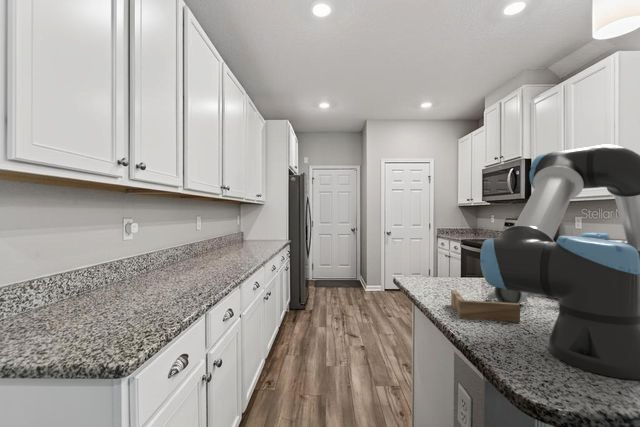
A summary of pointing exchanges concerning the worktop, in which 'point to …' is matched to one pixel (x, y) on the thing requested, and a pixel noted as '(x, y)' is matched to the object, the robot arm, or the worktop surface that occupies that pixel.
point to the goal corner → (485, 309)
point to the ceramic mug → (508, 296)
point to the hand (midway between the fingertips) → (528, 283)
